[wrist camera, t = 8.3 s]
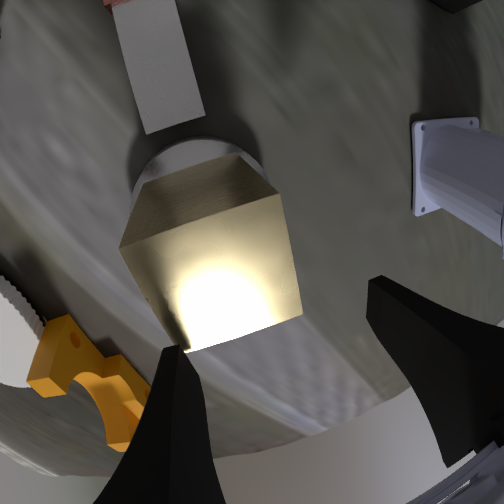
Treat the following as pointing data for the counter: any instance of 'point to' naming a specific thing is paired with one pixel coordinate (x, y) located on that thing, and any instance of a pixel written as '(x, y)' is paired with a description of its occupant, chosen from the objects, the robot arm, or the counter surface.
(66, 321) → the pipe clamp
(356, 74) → the counter surface
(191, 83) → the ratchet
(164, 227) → the tan rectangular block
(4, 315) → the plastic lid
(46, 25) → the counter surface
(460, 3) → the phone stand
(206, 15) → the counter surface
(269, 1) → the counter surface
